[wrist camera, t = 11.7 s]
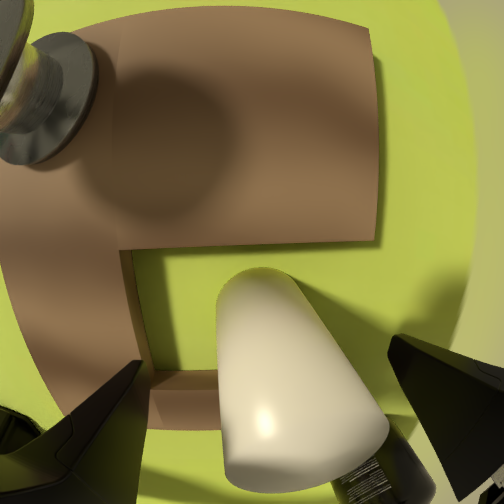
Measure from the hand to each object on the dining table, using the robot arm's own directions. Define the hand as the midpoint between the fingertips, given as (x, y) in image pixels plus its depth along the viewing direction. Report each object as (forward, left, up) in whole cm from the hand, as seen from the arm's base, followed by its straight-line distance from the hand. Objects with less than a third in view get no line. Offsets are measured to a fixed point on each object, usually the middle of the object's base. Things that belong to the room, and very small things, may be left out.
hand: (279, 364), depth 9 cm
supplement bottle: (-14, -8, -4) cm, 17 cm away
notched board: (+3, +4, -4) cm, 6 cm away
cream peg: (0, 0, -4) cm, 4 cm away
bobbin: (+10, +9, -2) cm, 14 cm away
